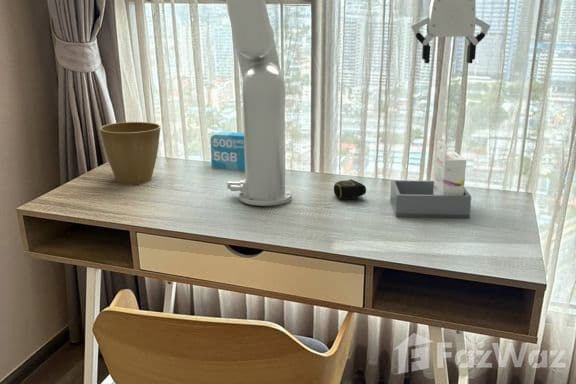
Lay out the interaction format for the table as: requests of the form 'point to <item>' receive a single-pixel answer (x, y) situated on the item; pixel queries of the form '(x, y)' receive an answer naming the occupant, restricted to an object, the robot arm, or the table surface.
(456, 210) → the tote
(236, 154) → the data package
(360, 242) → the table surface
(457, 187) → the ink cartridge box
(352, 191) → the tape measure
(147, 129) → the plant pot
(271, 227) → the table surface
